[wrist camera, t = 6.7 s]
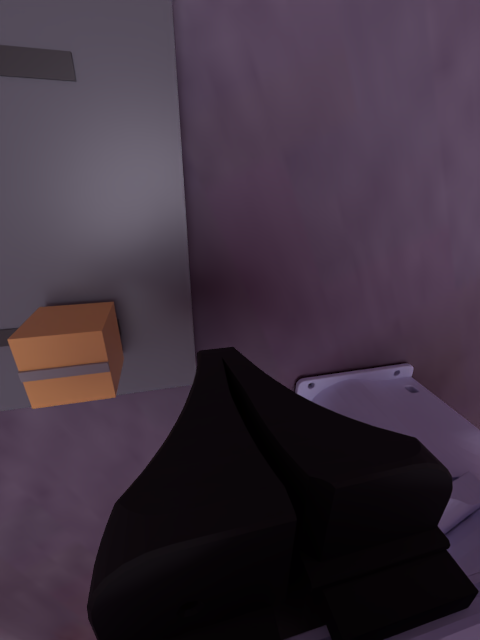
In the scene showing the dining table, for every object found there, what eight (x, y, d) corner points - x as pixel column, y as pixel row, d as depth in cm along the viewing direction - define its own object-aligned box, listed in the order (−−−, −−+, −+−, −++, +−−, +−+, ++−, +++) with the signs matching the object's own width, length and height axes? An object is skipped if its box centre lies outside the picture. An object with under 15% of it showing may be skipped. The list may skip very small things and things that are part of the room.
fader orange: (113, 301, 13) (101, 331, 11) (124, 358, 15) (115, 398, 12) (39, 306, 13) (5, 340, 10) (57, 366, 14) (31, 410, 11)
